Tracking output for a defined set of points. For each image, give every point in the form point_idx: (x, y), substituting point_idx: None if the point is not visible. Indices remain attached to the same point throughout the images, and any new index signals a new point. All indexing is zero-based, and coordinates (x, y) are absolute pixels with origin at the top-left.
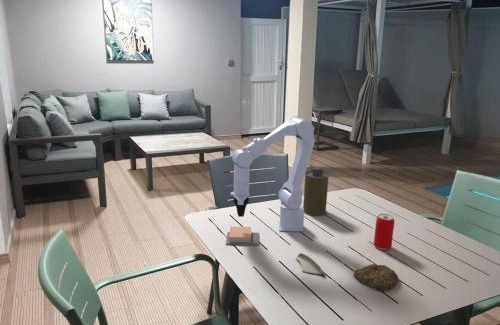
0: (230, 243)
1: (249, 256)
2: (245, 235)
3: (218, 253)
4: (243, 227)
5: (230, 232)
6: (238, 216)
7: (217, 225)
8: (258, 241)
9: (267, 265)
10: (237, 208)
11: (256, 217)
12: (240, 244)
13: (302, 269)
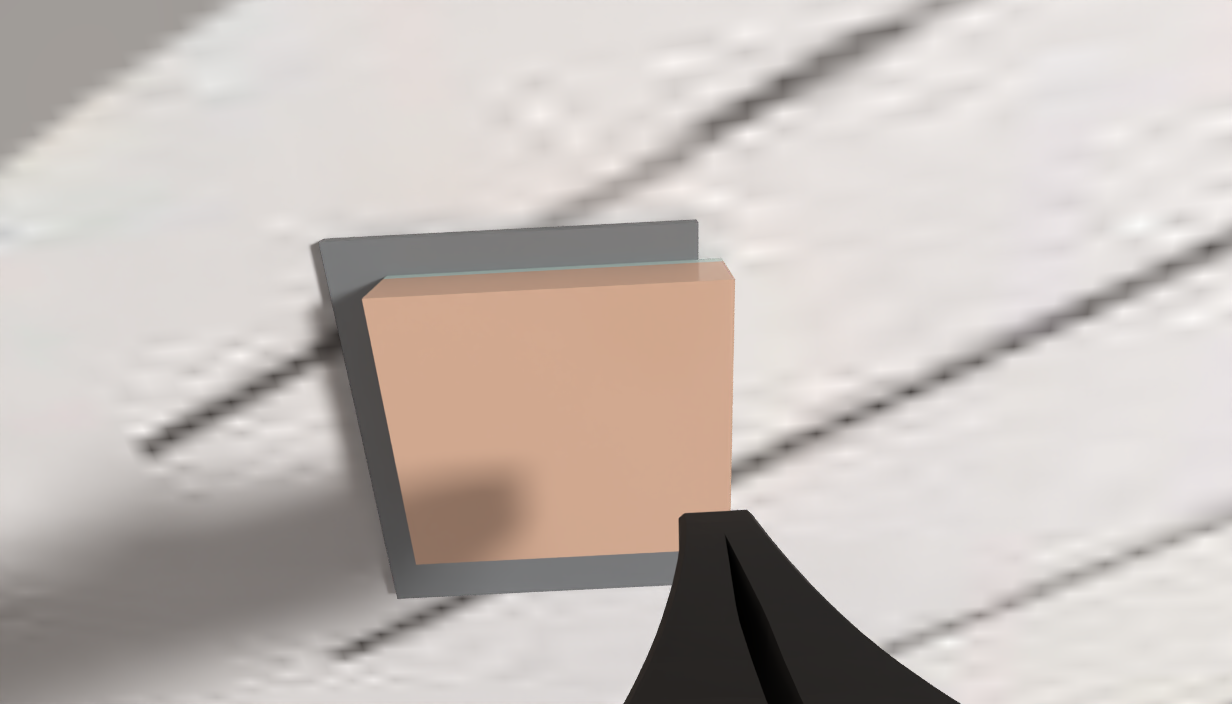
0: (341, 300)
1: (129, 518)
2: (454, 503)
3: (52, 169)
4: (707, 461)
5: (514, 303)
6: (680, 517)
7: (967, 17)
8: (472, 590)
9: (23, 667)
10: (656, 651)
11: (1169, 531)
12: (360, 416)
13: None
